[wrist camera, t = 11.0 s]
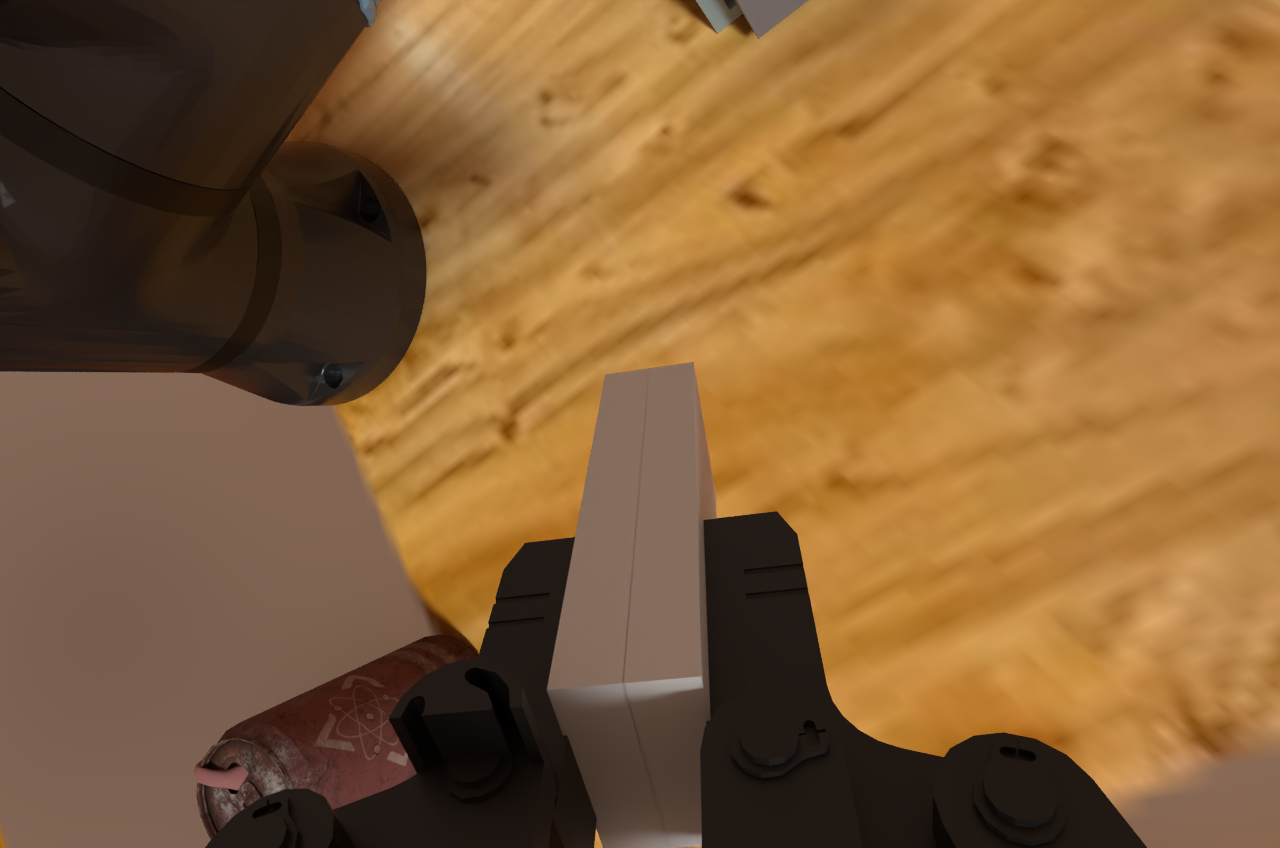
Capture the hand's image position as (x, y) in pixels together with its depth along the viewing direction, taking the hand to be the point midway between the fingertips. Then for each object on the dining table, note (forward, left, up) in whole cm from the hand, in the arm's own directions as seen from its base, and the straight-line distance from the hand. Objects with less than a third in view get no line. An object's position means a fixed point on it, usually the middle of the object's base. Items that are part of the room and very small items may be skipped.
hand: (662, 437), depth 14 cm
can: (-16, -22, -24) cm, 36 cm away
